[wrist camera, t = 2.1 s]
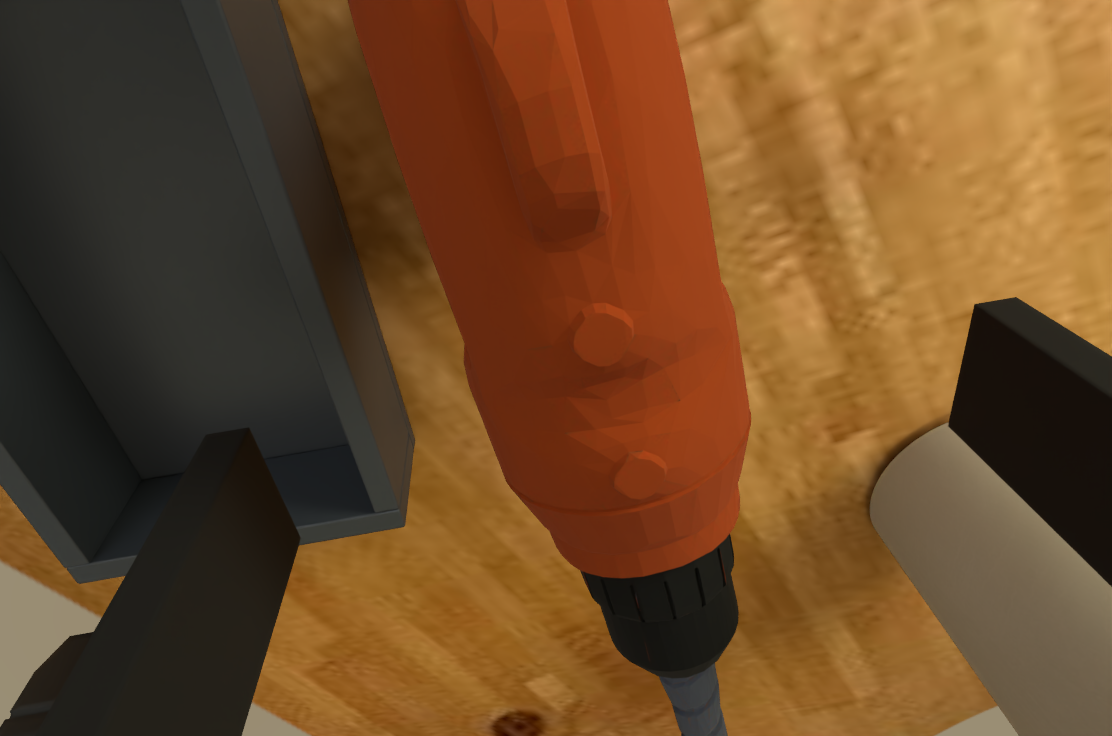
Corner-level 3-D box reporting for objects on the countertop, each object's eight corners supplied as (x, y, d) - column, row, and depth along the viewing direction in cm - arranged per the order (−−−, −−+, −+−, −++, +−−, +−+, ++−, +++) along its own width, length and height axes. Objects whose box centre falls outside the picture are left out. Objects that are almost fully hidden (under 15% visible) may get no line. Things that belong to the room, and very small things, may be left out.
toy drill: (567, 499, 26) (639, 981, 12) (386, -50, 18) (38, -369, 5) (689, 465, 26) (898, 919, 12) (560, -105, 18) (747, -617, 4)
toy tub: (-491, -513, 12) (-941, -730, 8) (92, -594, 12) (-79, -841, 9) (137, 488, 25) (77, 585, 21) (415, 440, 26) (405, 527, 22)
